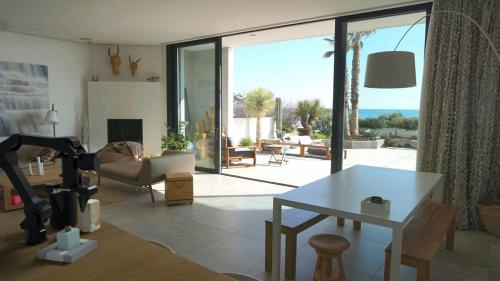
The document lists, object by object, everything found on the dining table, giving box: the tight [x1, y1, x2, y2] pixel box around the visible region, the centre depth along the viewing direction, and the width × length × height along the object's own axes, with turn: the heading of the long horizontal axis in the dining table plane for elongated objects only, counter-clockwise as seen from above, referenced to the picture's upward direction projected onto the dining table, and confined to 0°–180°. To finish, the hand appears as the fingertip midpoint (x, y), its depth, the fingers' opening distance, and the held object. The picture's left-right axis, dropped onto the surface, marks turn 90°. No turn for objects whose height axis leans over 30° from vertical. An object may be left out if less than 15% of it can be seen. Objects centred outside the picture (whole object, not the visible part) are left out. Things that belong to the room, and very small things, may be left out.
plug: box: [56, 226, 81, 251], centre depth 122 cm, size 4×6×10 cm
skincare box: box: [81, 198, 101, 233], centre depth 144 cm, size 6×4×12 cm
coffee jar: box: [47, 181, 79, 231], centre depth 148 cm, size 11×11×18 cm
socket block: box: [37, 238, 98, 264], centre depth 123 cm, size 13×13×2 cm
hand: (72, 211), depth 130 cm, fingers open, 9 cm apart
